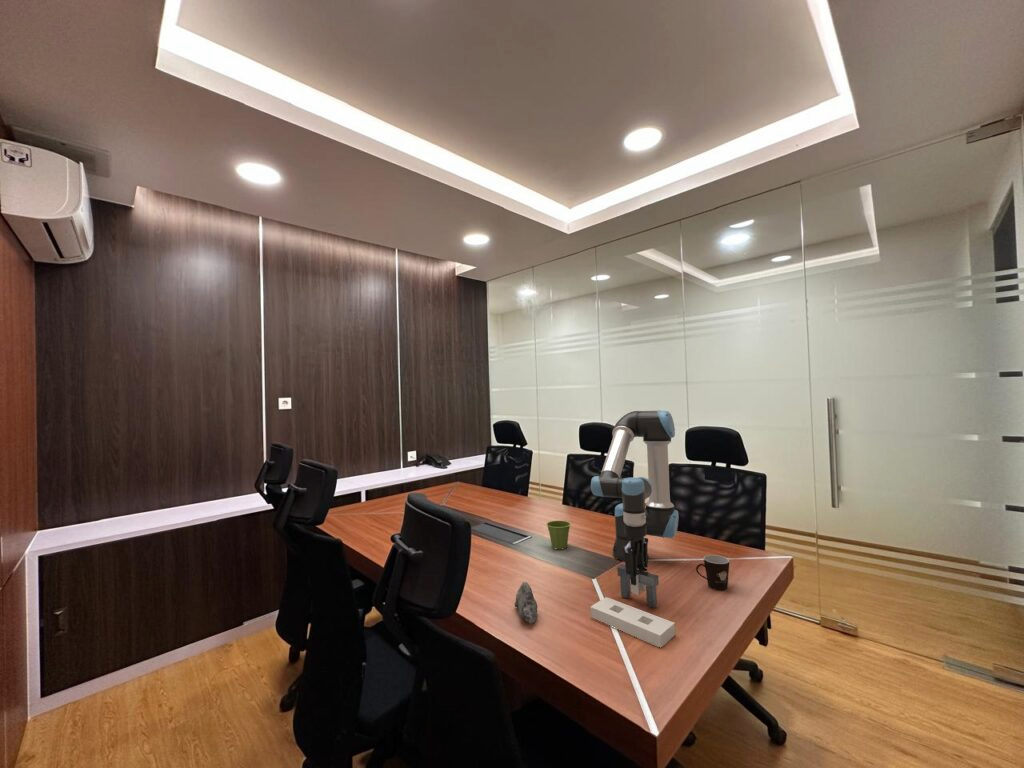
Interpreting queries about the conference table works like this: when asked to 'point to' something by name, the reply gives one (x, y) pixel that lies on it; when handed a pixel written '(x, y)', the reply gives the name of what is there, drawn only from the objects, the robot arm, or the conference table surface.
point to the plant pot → (559, 533)
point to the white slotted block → (634, 621)
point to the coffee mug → (716, 571)
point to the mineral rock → (526, 603)
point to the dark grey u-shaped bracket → (644, 578)
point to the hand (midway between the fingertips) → (638, 591)
